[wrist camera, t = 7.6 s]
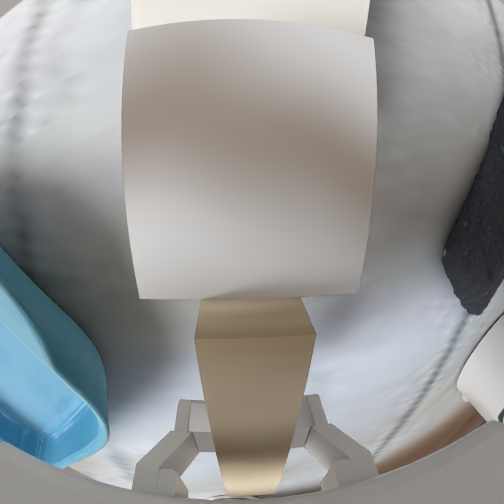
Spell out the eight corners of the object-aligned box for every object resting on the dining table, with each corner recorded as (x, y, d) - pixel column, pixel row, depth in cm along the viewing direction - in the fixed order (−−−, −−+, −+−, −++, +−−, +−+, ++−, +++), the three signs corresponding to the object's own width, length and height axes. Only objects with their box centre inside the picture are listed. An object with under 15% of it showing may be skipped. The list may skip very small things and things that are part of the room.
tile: (152, 106, 12) (145, -57, 5) (335, 108, 13) (358, -49, 5) (142, 119, 11) (132, -65, 4) (347, 121, 12) (375, -54, 4)
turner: (295, 436, 14) (306, 489, 10) (198, 440, 14) (195, 494, 10) (340, 60, 7) (406, 18, 3) (153, 57, 6) (102, 5, 3)
